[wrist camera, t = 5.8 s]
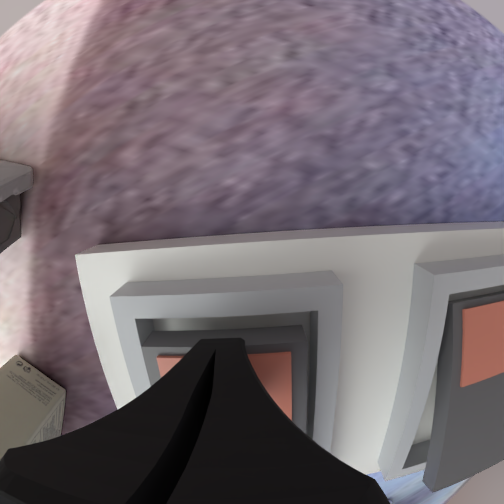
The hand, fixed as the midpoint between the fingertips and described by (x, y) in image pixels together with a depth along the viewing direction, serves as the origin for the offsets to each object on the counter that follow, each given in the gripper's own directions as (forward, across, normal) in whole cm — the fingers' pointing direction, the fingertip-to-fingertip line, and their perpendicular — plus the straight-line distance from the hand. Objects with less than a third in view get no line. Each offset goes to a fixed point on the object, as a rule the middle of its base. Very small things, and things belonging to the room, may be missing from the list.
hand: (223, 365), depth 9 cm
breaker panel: (+4, -6, +4) cm, 8 cm away
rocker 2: (0, -11, +4) cm, 12 cm away
